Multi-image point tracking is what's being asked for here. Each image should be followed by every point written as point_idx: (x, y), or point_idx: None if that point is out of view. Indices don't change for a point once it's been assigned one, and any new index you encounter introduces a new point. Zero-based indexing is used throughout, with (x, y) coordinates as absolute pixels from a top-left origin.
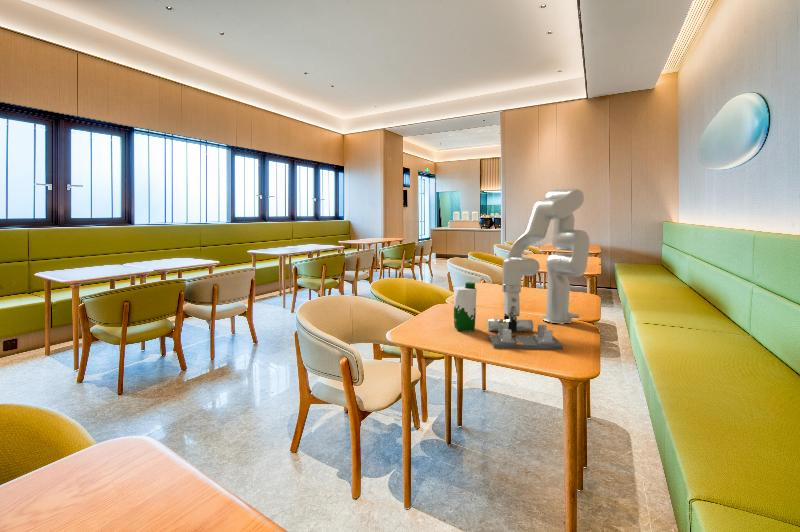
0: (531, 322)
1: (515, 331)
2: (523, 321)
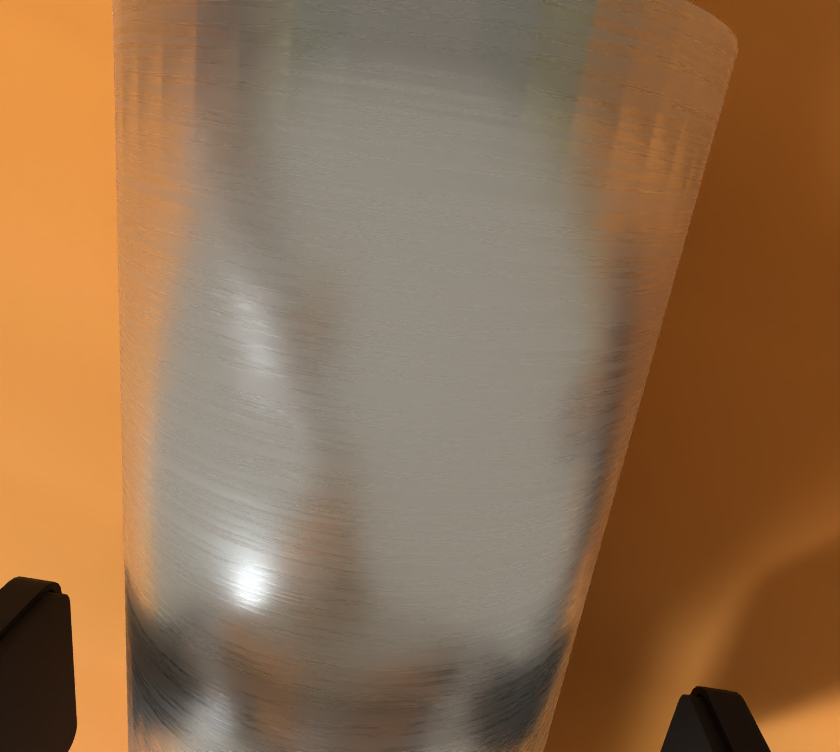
0: (676, 113)
1: (725, 703)
2: (526, 561)
